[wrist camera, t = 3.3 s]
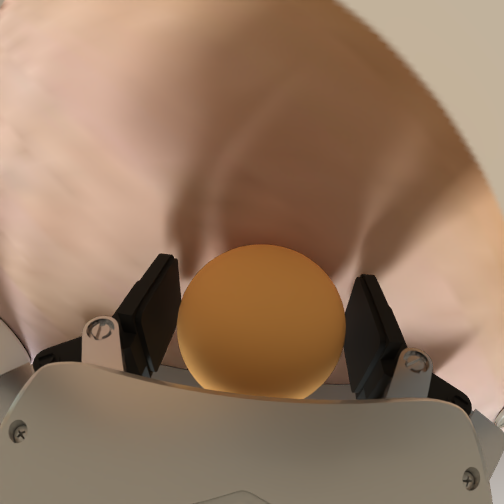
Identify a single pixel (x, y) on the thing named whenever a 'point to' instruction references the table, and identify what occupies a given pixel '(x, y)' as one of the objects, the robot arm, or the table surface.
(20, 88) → the table surface
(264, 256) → the ball
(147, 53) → the table surface
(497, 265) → the table surface
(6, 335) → the pill bottle
